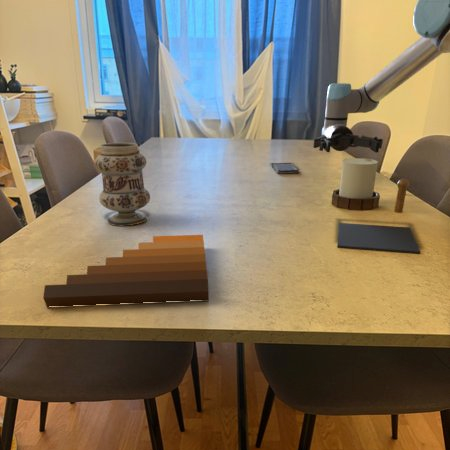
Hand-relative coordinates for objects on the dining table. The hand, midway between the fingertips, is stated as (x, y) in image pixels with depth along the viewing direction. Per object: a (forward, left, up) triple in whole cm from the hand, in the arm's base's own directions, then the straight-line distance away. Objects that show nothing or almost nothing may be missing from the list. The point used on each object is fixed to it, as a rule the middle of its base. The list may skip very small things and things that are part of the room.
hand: (353, 147), depth 122 cm
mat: (-6, +38, -14) cm, 40 cm away
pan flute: (+37, +68, -14) cm, 78 cm away
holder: (-5, +10, -14) cm, 17 cm away
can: (-2, +10, -14) cm, 17 cm away
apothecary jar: (+53, +38, -14) cm, 66 cm away
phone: (+23, -35, -14) cm, 44 cm away
